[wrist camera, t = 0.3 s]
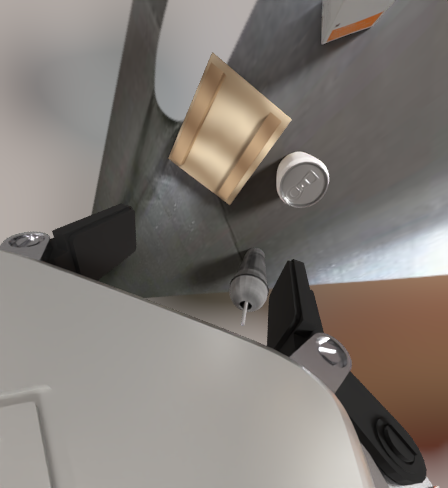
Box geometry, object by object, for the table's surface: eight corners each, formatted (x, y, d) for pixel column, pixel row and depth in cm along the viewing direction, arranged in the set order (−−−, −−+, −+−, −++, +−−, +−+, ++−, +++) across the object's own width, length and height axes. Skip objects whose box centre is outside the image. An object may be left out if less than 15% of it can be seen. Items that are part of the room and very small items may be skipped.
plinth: (220, 62, 28) (208, 47, 23) (290, 121, 29) (292, 118, 25) (178, 156, 37) (163, 159, 32) (234, 199, 38) (227, 207, 33)
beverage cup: (237, 263, 46) (214, 335, 29) (243, 239, 42) (220, 305, 25) (266, 271, 45) (259, 350, 28) (274, 247, 41) (272, 322, 24)
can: (269, 173, 34) (265, 188, 24) (297, 142, 31) (307, 144, 21) (293, 196, 35) (299, 220, 25) (323, 169, 32) (345, 184, 21)
